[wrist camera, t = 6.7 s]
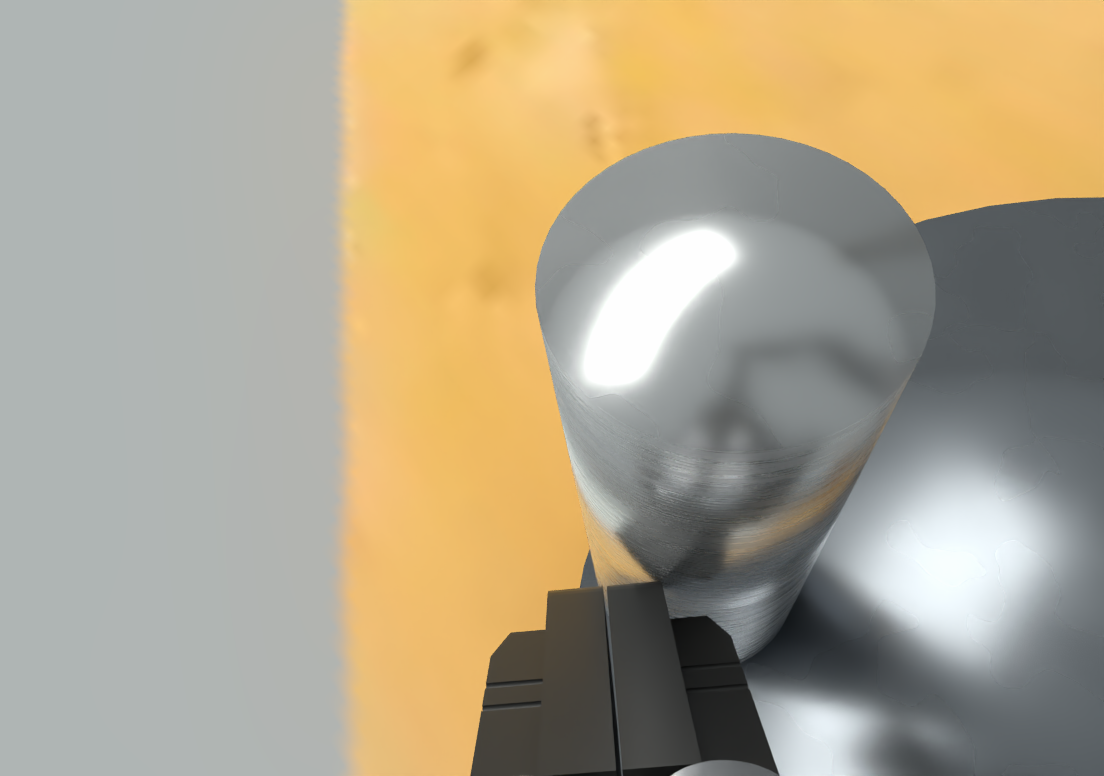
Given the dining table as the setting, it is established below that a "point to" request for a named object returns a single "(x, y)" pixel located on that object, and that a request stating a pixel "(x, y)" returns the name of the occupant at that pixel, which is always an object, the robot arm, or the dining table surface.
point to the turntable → (846, 447)
